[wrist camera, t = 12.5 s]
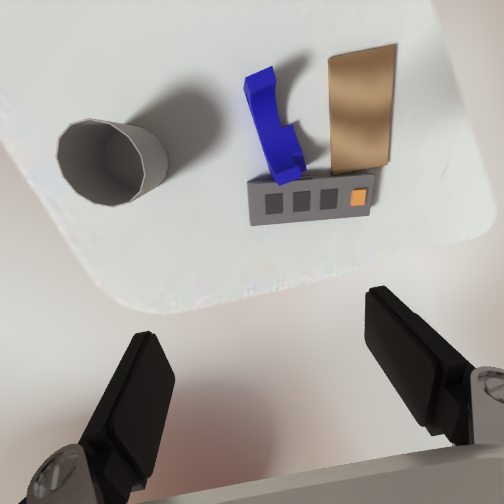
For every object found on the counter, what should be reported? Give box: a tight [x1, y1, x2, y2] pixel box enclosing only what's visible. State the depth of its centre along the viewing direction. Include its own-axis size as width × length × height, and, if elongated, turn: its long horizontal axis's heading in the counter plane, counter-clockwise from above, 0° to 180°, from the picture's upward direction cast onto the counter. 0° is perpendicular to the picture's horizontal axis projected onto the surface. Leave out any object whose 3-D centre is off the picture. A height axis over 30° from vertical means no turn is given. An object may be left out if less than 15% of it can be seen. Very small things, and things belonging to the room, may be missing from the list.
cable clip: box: [243, 66, 307, 186], centre depth 30 cm, size 12×4×6 cm, turn 20°
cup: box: [56, 118, 169, 207], centre depth 29 cm, size 8×8×10 cm
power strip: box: [247, 172, 375, 226], centre depth 36 cm, size 18×6×4 cm, turn 94°
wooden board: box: [328, 45, 395, 175], centre depth 32 cm, size 14×8×1 cm, turn 10°
